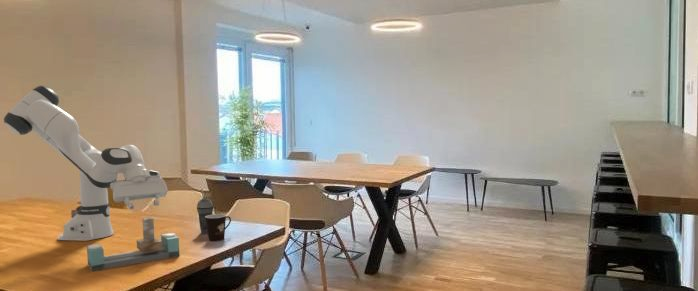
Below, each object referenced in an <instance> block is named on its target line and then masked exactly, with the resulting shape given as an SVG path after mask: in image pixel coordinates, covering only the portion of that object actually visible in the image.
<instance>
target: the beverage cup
mask: <svg viewBox="0 0 698 291" xmlns="http://www.w3.org/2000/svg"><path fill="white" fill-rule="evenodd" d="M201 196H202V198H200V200H199V201H198V202H197V205H196V211H197V213H198V214H197V215H198V220H199V221H198V222H199V228H200V234H202V235H208V231H207V225H206V219H205V216H208V215H213V210H214V204H213V202H212V200H211V199H209V198H205V197H204V191H203V188H201Z"/></svg>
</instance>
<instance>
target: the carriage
mask: <svg viewBox="0 0 698 291" xmlns="http://www.w3.org/2000/svg"><path fill="white" fill-rule="evenodd" d="M154 222H155V221H154V218H153V216H148V217H142V232H143V233H142V234H143V235H142V236H143V238H140V239H136V248H137V249H138V251H139V250H140V251H141V252H142V253H144V252H150V251H155V250H161V249H162V241H161V239H159V238H158V237H157V236H155V226H154V225H155V224H154Z"/></svg>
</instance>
